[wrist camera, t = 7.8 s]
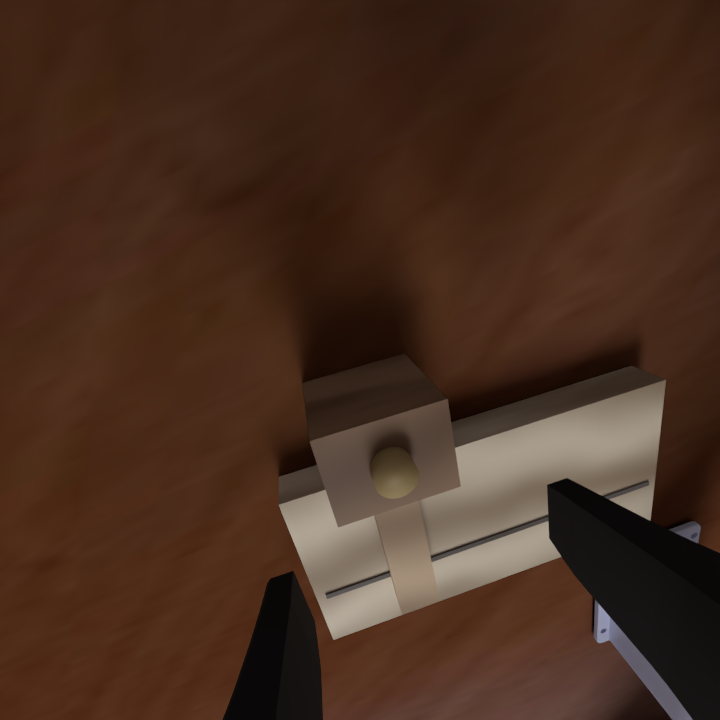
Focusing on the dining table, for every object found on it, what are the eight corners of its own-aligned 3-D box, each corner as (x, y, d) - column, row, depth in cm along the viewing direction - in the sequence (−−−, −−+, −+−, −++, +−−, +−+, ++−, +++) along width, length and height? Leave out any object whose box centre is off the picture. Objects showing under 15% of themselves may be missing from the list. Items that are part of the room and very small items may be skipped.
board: (622, 501, 24) (651, 525, 22) (329, 605, 22) (333, 641, 20) (631, 365, 20) (668, 380, 18) (279, 476, 18) (278, 506, 16)
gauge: (438, 534, 22) (488, 633, 17) (359, 561, 21) (384, 673, 16) (404, 353, 17) (457, 409, 12) (302, 382, 17) (311, 454, 12)
